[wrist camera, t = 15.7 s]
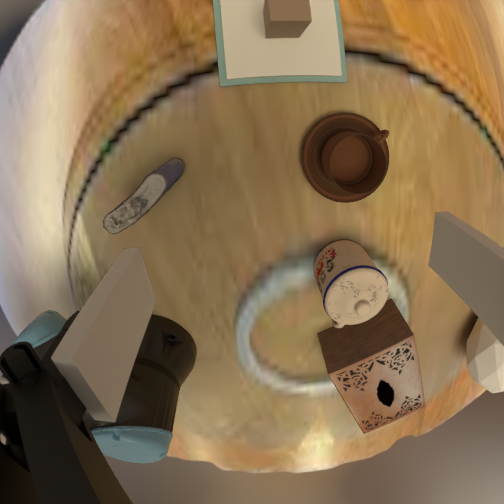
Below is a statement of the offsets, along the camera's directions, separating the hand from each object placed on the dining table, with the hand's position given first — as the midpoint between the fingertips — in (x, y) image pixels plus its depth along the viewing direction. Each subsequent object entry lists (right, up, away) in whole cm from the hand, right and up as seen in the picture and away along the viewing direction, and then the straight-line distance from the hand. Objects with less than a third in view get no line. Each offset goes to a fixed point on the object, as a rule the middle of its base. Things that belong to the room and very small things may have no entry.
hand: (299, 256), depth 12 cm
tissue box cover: (+22, -21, +43) cm, 53 cm away
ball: (+52, -16, +41) cm, 68 cm away
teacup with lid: (+11, -3, +34) cm, 36 cm away
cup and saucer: (+10, +13, +26) cm, 31 cm away
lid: (+2, +28, +17) cm, 33 cm away
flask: (-15, +9, +27) cm, 32 cm away
